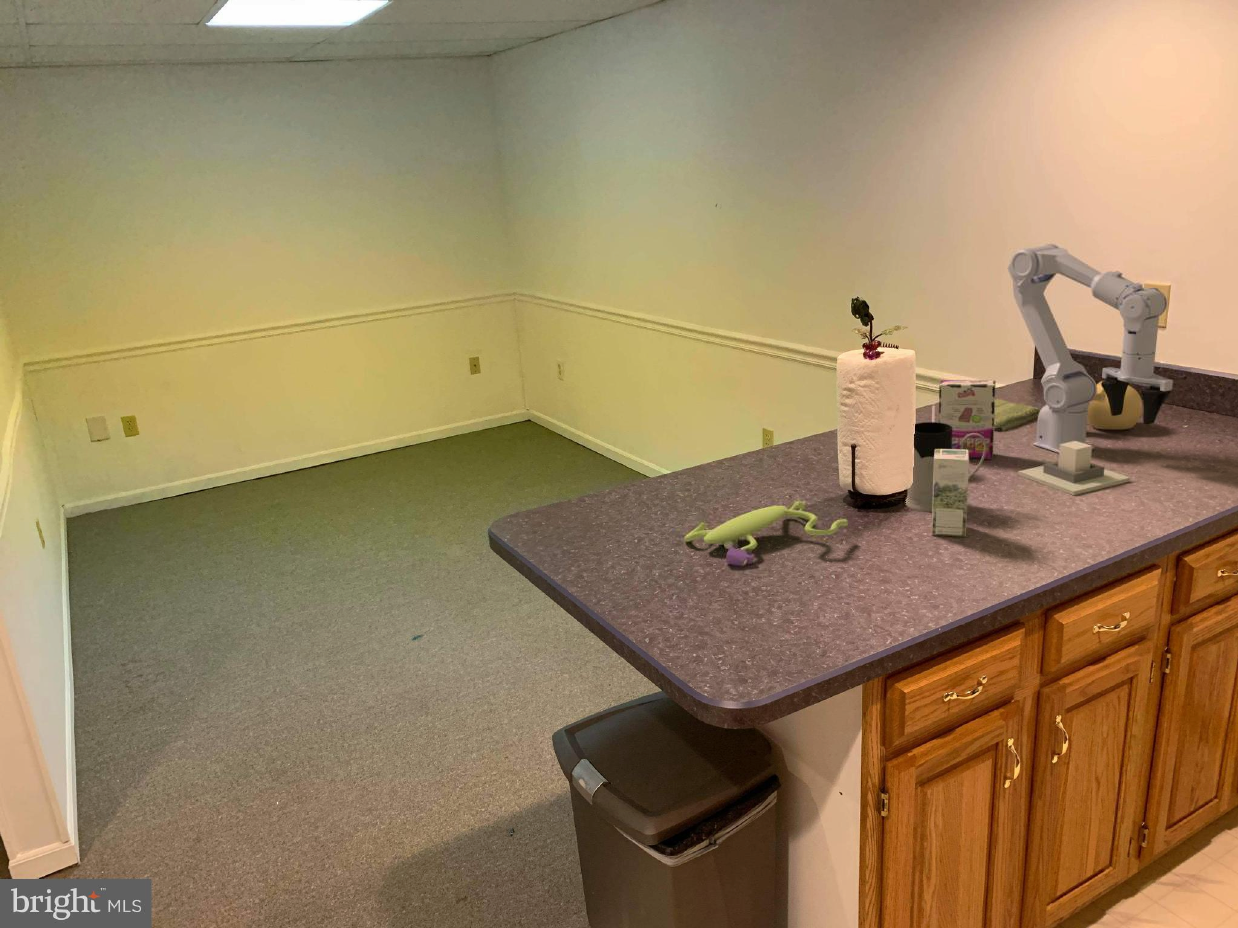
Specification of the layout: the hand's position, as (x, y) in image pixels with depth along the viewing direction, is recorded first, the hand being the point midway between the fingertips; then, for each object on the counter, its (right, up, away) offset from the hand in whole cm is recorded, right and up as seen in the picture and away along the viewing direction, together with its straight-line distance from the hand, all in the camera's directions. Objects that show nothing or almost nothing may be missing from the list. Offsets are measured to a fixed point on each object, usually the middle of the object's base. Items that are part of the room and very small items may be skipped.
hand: (1132, 419), depth 187 cm
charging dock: (-13, -12, -2) cm, 18 cm away
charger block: (-13, -11, -2) cm, 17 cm away
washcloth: (-11, +1, +39) cm, 40 cm away
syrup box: (-44, -21, -22) cm, 54 cm away
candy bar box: (-28, -7, +16) cm, 33 cm away
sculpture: (+9, -1, +26) cm, 28 cm away
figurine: (-76, -23, -19) cm, 82 cm away
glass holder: (-41, -17, -9) cm, 45 cm away
